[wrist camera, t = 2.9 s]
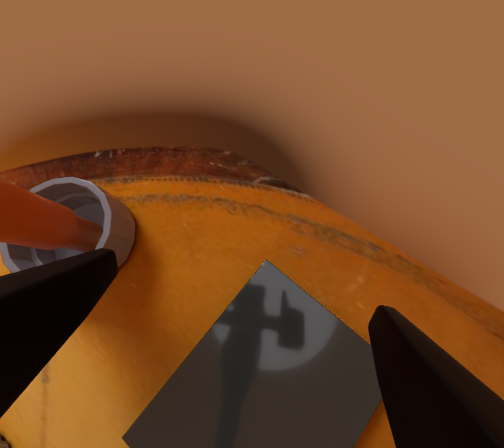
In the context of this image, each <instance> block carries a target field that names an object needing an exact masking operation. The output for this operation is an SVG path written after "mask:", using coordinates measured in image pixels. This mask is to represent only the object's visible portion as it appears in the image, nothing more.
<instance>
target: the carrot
mask: <svg viewBox="0 0 504 448" xmlns="http://www.w3.org/2000/svg"><path fill="white" fill-rule="evenodd" d="M102 234H103V229H102V227H101V226H100V225H98V224H96V223H94V222H91V221H89V220H86V219H84V218H81V217H78V216H76V215H75V213H74V212H73V211H72V210H71V209H70V208H68V207H66V206H64V205H61V204H59V203H56V202H54V201H52V200H49V199H47V198H44V197H42V196H39V195H37V194H35V193H32V192H30V191H27V190H25V189H23V188H20V187H18V186H15V185H13V184H11V183H8V182H6V181H3V180H1V179H0V242H3V243H8V244H14V245H20V246H26V247H32V248H38V249H44V250H53V249H57V248H59V247H61V248H66V249H71V250H76V251H81V252H89V251H92V250H95V248H96V246H97V244H98V242H99V240H100V238H101V236H102Z"/></svg>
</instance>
